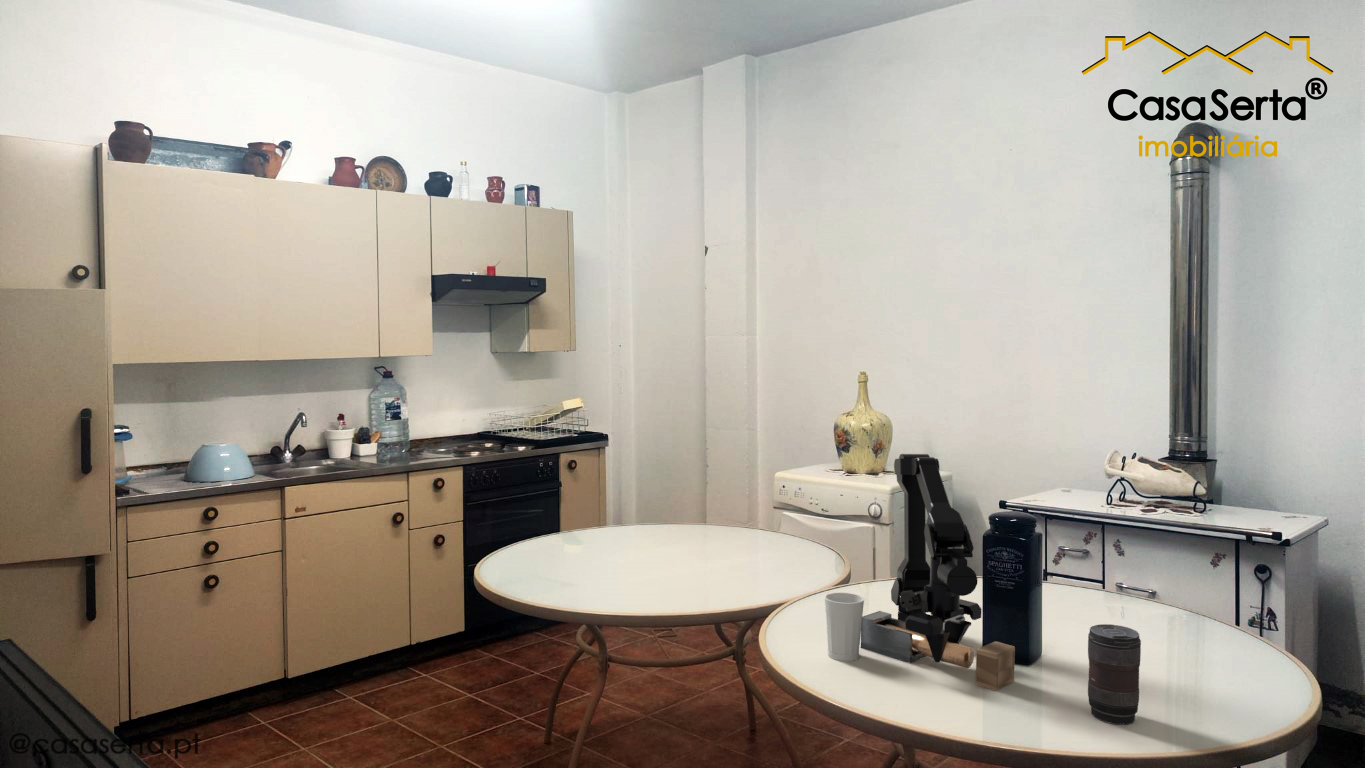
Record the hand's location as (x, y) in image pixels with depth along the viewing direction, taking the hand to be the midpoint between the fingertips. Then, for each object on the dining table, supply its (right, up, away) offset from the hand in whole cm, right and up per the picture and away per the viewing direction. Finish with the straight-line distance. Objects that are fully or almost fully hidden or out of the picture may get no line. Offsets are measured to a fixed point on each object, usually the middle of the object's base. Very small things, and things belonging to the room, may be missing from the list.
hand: (943, 659), depth 173 cm
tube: (-3, 0, +3) cm, 4 cm away
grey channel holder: (-8, -1, +9) cm, 12 cm away
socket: (+7, -2, -8) cm, 11 cm away
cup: (-19, -1, +6) cm, 20 cm away
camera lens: (+22, -3, -23) cm, 32 cm away
